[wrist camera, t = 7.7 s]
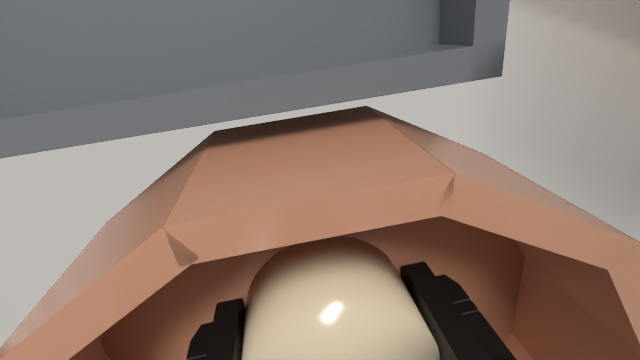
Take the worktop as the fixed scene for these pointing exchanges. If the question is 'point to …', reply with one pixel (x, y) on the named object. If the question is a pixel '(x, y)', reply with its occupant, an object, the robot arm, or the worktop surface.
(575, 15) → the worktop surface
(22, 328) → the bowl
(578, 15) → the worktop surface
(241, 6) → the tray
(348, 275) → the sandstone pebble
